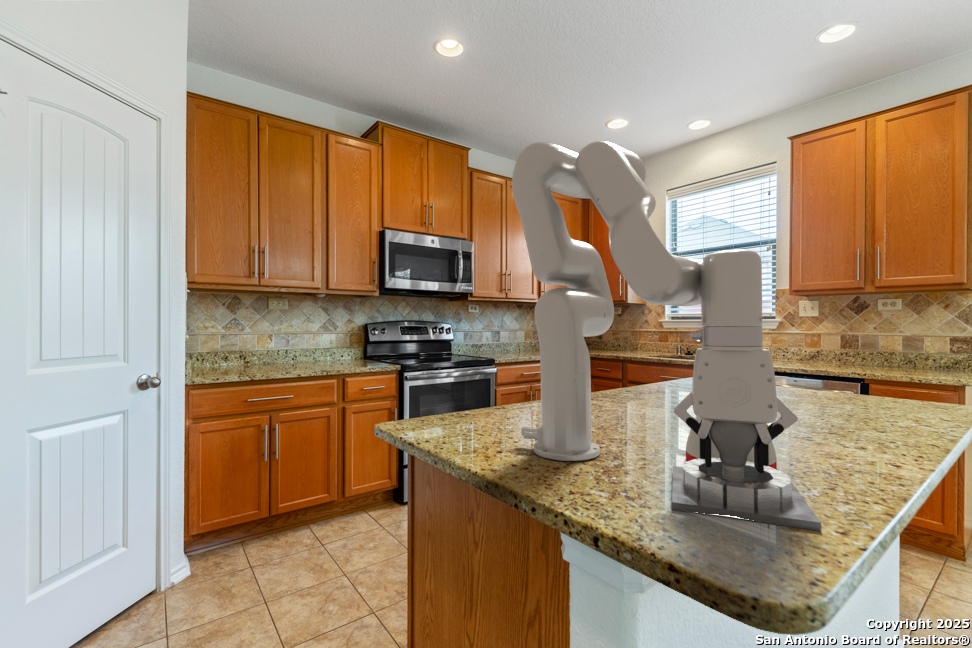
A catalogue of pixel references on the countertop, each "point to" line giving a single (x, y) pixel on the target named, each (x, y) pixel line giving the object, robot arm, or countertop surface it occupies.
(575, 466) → the countertop surface
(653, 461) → the countertop surface
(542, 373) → the robot arm
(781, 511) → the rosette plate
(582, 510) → the countertop surface
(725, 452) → the light bulb
